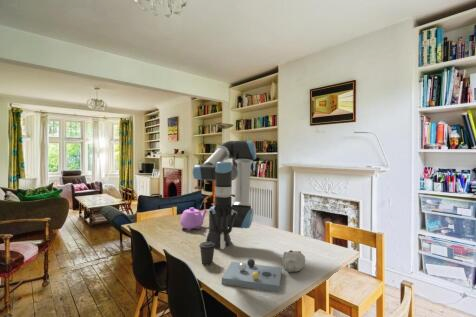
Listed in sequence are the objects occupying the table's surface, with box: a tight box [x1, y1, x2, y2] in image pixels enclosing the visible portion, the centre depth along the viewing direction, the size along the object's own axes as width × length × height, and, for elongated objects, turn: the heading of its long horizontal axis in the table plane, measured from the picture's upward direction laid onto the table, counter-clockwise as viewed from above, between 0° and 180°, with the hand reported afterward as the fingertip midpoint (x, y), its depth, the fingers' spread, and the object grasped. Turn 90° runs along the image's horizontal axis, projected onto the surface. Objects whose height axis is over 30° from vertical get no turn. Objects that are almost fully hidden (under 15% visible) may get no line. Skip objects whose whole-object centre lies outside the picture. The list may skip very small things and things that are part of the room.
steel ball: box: [238, 262, 246, 272], centre depth 109 cm, size 4×4×4 cm
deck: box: [221, 261, 283, 293], centre depth 108 cm, size 24×16×2 cm, turn 76°
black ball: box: [246, 258, 256, 267], centre depth 113 cm, size 4×4×4 cm
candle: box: [281, 250, 306, 273], centre depth 117 cm, size 9×11×15 cm
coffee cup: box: [198, 241, 216, 266], centre depth 122 cm, size 8×8×10 cm
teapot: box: [179, 207, 208, 232], centre depth 179 cm, size 20×20×15 cm
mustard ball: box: [252, 272, 259, 280], centre depth 102 cm, size 3×3×3 cm
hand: (222, 247), depth 110 cm, fingers closed
